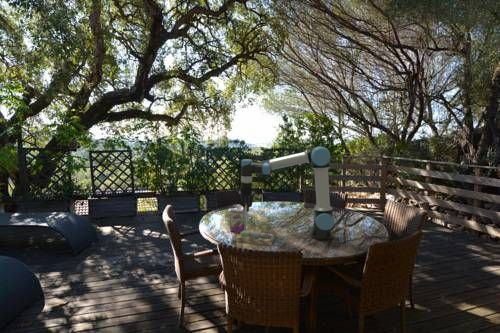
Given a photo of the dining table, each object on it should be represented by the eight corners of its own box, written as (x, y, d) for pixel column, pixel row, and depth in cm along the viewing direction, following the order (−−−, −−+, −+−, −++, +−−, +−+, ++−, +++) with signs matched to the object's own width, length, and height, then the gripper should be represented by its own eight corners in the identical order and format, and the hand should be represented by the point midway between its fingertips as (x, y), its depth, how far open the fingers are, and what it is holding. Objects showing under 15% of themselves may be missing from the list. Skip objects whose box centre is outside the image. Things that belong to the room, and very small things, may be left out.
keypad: (274, 238, 217) (275, 234, 217) (270, 245, 204) (270, 240, 203) (241, 235, 223) (241, 230, 223) (235, 241, 210) (235, 237, 210)
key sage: (250, 234, 217) (250, 231, 217) (248, 237, 212) (248, 233, 211) (243, 234, 218) (243, 230, 218) (241, 236, 213) (241, 232, 213)
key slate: (260, 235, 215) (260, 231, 215) (258, 238, 210) (258, 234, 210) (252, 235, 217) (253, 231, 216) (250, 237, 211) (250, 233, 211)
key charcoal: (270, 239, 213) (270, 235, 213) (268, 241, 208) (268, 237, 208) (262, 238, 215) (262, 234, 215) (260, 241, 210) (261, 236, 209)
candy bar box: (229, 231, 231) (230, 210, 229) (232, 229, 236) (232, 208, 234) (244, 233, 227) (244, 211, 225) (246, 231, 232) (246, 210, 230)
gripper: (235, 182, 209) (235, 216, 212) (254, 183, 206) (253, 218, 208) (239, 180, 216) (238, 214, 219) (257, 181, 213) (256, 215, 215)
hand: (245, 216), depth 214 cm, fingers closed
